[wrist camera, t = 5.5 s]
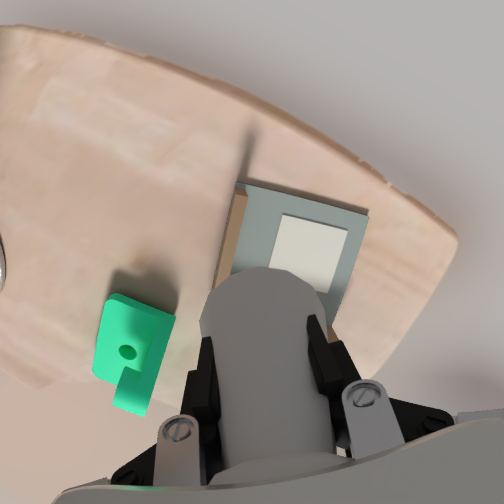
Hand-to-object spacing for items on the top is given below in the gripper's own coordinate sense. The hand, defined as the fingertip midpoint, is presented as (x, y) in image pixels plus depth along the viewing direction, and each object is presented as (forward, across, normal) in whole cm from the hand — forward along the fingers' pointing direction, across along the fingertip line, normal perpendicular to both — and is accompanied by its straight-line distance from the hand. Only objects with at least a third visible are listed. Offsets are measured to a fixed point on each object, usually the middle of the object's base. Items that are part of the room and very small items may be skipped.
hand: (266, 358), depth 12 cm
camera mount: (+20, +16, +10) cm, 28 cm away
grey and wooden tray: (+20, -3, +4) cm, 21 cm away
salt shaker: (+5, 0, 0) cm, 5 cm away
